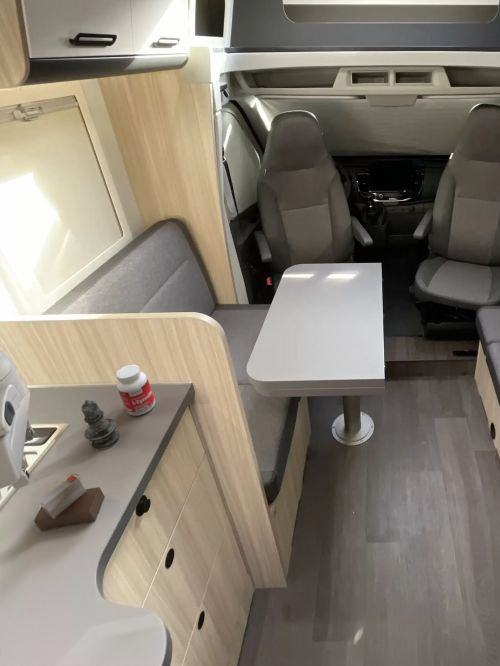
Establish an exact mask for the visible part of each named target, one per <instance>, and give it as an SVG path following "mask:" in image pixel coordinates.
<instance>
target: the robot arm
mask: <svg viewBox="0 0 500 666" xmlns="http://www.w3.org/2000/svg"><path fill="white" fill-rule="evenodd" d="M21 375H22V374H20V372H19V370H18V368H17V366H16V365H15V363H14V361H13V359H12V358H11V357H10V356H9V355H8V354H6V353H5V352H4V351H3V349H2V347H1V346H0V490H2V489H4V488H7V487H10V486H12V488H14V489H20V488H23V487H26V486H28V485H29V483H30V477H31V476H30V473H29V472H28V470H27V469H26V468H24V469H22V467H23V460H24V453H25V452H24V450H25V445H26V444H25V443H27V442H31V441H33V440H34V437H35V430H34V428H33V427H32V423H31V419H30V416H29V413H30V404H31V392H30V389H29V387H28V385H27V384H26V381H24V378H23V377H22V376H21Z"/></svg>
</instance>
